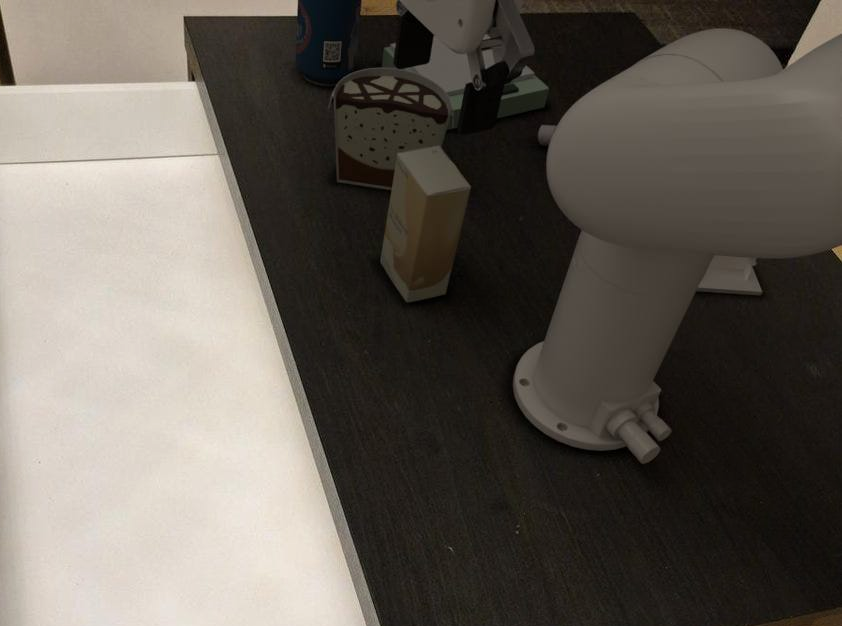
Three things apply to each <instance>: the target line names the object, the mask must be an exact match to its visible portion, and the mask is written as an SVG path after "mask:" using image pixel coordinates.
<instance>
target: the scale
mask: <svg viewBox="0 0 842 626" xmlns="http://www.w3.org/2000/svg"><path fill="white" fill-rule="evenodd" d="M485 39H490V37H489V36H488V35H487V34H485V36H484V38H483V40H485ZM395 45H396V42H393V43H390V45H389V46H386V47H383V54H382V61H381V68H395V69H397V68H396V67H395V66H394V64H393V61H394V53H395ZM482 54H483V59H484V64H485V69H487V68H489V67H490V66H492V65H494V64H495V63H494V57H493V52H492V49H490V50H485V51H482ZM401 70H407V71H410V72H414V73H417V74H419V75H422V76H424V77H426V78H428V79H430V80H432V81H434V82H435V83H437V84H438V85H439V86H440V87H442V88H443V89H444V91H445V92H446V93H447V94H448V96H449V98H450V100H451V103H452V108H453V116H454V129H457V128H458V127H457V126H458V121H459V115H460V110H461V105H462V100H463V95H464V89H465V86H466V84H467V83H470V82H472V78H471V73H470V67H469V62H468V57H467V53H466V54H457V53H455V52H453V51H451V50H450V49H449V48H448V47H447V46H445V45H444V44H443V43H442V42H441V41H440V40H439V39H438V38H437V37H436V36H435V35H434V37H433V44H432V50H431V56H430V61H429V63H428V64H424V65H419V66H414V67H409V68H404V69H401ZM549 92H550V88H549V87H548V86H547V84H546V83H544V82H543V81H542V80H541V79H540V78H538V77H537V76H536V75H535V72H534V71H533V70H532V69H531V68H530V67H528V66H527V65H526V66H525V68H524V69H523V71H522V74H521V75H520V76H519V77H517V78H515V79H514V80H512V81H511V83H510V84H506V85H504V89H503V93H502V97H501V102H500V106H499V111H498V115H497V119H501V118H504V117H509V116H514V115H517V114H521V113H525V112H531V111H534V110H538V109H542V108H545V107H546V102H547V98H548V95H549ZM450 130H453V129H452V122H451V119H450V120H449V123H448V126H447V130H446V131H450Z"/></svg>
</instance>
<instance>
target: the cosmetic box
mask: <svg viewBox="0 0 842 626" xmlns="http://www.w3.org/2000/svg"><path fill="white" fill-rule="evenodd" d="M471 189H472V185H470V184H469V182H468V181H467V179H466V178H465V177H464V175H463V174H462V173H461V172H460V170H459V169H458V167H457V166H456V164H455V163H454V162H453V161H452V160H451V159H450V157H449V156H448V155H447V153H446V152H445V151H444V150H443V148H442V146H441V147H440V146H433V147H427V148H421V149H416V150H410V151H405V152H401V153H397V159H396V166H395V172H394V178H393V185H392V190H390V191H391V192H390V198H389V204H388V210H387V217H386V223H385V229H384V235H383V241H382V247H381V253H380V254H381V255H380V264H381V266H382V267H383V269H384V271H385V272H386V274H387V276H388V277H389V279H390V280H391V282H392V284H393V285H394V287H395V288H396V290H397V291H398V292H399V294H400V296H401V297H402V298H403V300H404V301H405V302H406V303H409V304H410V303H414V302H418V301H423V300H428V299H432V298H436V297H440V296H445V295H446V294H447V290H448V286H449V283H450V277H451V273H452V270H453V265H454V261H455V256H456V253H457V248H458V243H459V240H460V236H461V231H462V227H463V223H464V219H465V218H464V217H465V214H466V211H467V206H468V202H469V197H470V194H471V193H470V192H471Z"/></svg>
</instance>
